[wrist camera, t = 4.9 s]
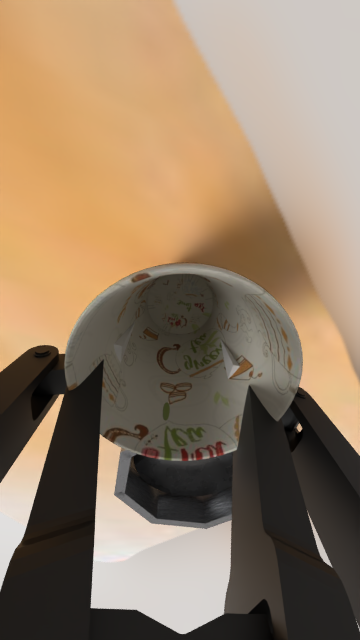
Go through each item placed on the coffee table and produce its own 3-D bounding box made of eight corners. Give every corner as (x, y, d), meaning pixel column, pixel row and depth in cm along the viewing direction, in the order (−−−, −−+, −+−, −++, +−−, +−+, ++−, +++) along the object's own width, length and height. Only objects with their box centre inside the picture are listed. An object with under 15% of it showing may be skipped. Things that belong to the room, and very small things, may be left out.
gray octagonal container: (132, 392, 21) (126, 415, 18) (285, 416, 22) (301, 440, 20) (117, 491, 27) (110, 519, 24) (237, 504, 29) (244, 532, 26)
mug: (240, 259, 15) (349, 286, 5) (209, 386, 19) (238, 517, 10) (132, 243, 14) (47, 243, 5) (127, 378, 19) (79, 509, 9)
